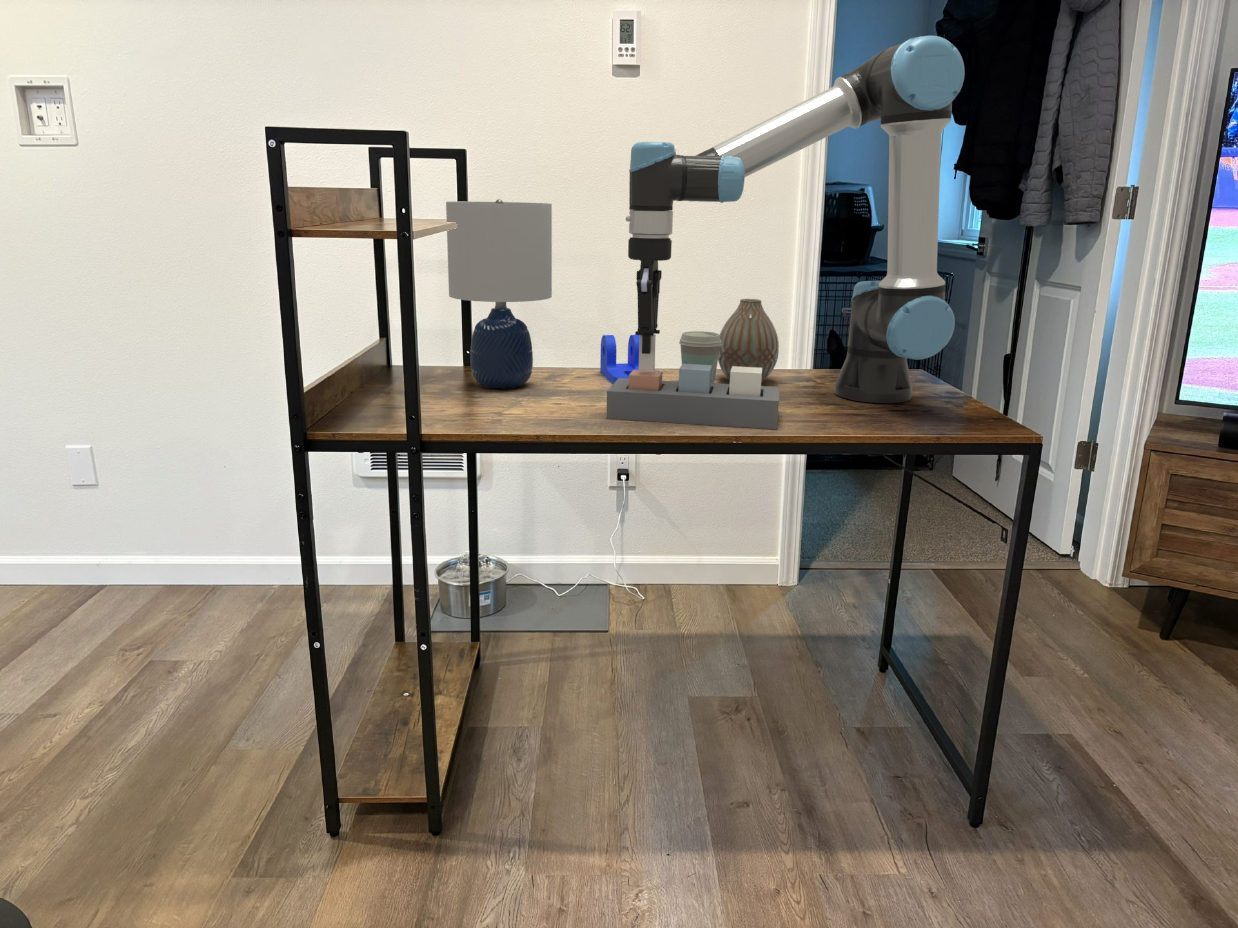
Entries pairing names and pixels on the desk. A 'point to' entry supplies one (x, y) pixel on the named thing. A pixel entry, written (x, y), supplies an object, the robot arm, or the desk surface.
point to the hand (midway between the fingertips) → (646, 370)
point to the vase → (749, 339)
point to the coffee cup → (701, 349)
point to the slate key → (695, 378)
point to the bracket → (609, 358)
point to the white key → (745, 381)
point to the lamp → (500, 280)
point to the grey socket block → (693, 405)
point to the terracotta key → (645, 380)
